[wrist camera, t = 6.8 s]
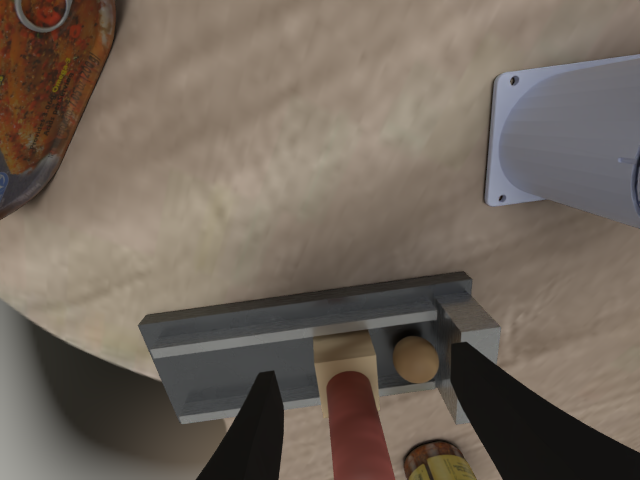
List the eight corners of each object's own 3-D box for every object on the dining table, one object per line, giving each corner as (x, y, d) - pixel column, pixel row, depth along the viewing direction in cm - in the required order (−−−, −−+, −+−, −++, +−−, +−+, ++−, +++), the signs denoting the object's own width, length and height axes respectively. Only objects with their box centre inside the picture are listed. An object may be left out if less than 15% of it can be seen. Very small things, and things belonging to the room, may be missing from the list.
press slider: (366, 325, 22) (405, 450, 14) (371, 376, 24) (407, 514, 16) (312, 333, 22) (318, 462, 14) (321, 383, 24) (331, 524, 16)
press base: (463, 271, 23) (507, 312, 18) (457, 372, 26) (492, 429, 21) (146, 315, 22) (103, 368, 18) (185, 410, 26) (158, 475, 21)
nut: (428, 324, 23) (447, 354, 20) (428, 357, 24) (446, 390, 21) (386, 329, 23) (399, 361, 20) (388, 362, 24) (400, 397, 21)
